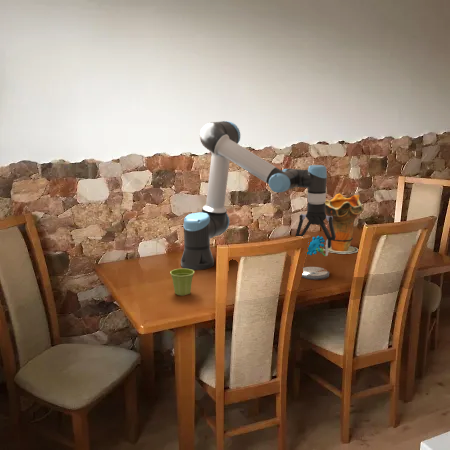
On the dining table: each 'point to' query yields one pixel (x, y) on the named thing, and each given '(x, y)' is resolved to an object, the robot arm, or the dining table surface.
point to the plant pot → (182, 280)
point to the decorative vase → (343, 222)
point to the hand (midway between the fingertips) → (314, 254)
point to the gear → (316, 246)
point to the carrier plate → (315, 273)
